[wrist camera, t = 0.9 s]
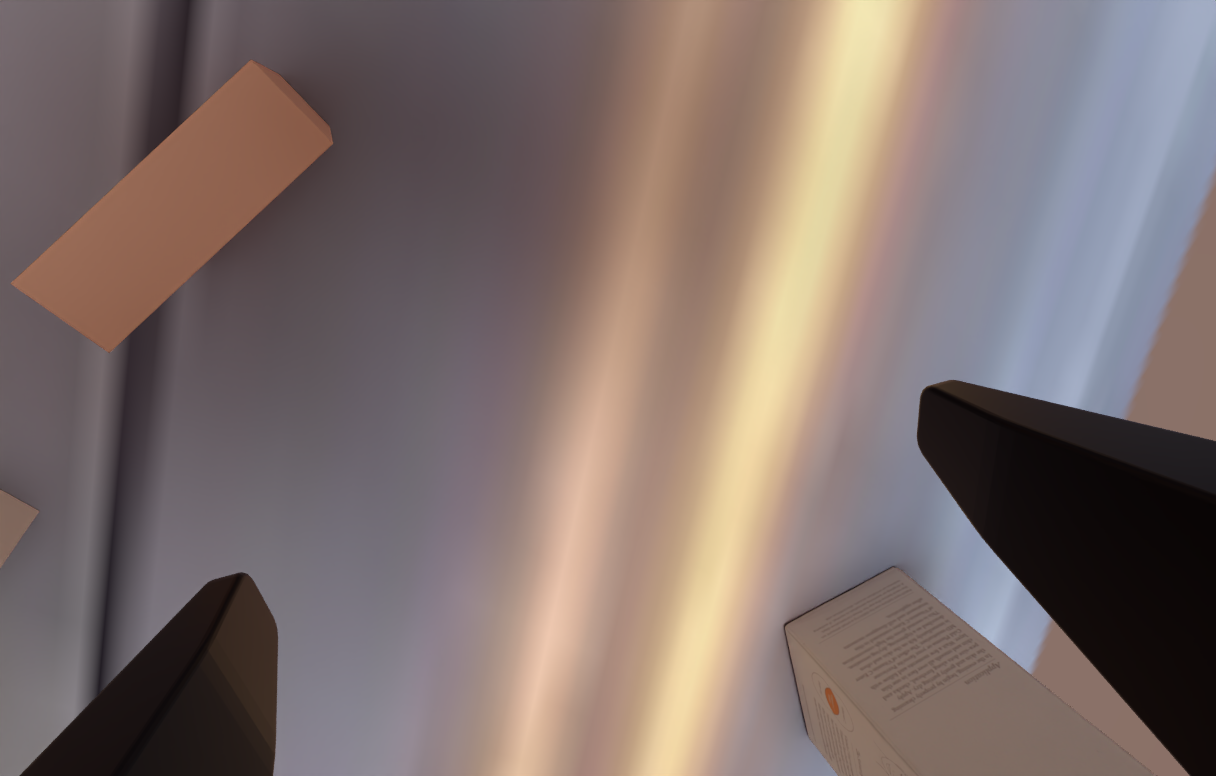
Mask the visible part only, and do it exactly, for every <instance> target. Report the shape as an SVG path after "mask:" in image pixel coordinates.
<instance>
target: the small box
mask: <svg viewBox="0 0 1216 776" xmlns="http://www.w3.org/2000/svg"><path fill="white" fill-rule="evenodd" d="M785 631H786V636H787V640H788V645H789V650H790V655H791V659H792V664H793V668H794V673H795V678H796V682H797V687H798V692H799V696H800V701H801V705H802V710H803V714H804V719H805V723H806V728H807V732H808V736H809V739H810V740H811V741H812V743H813V744H814V745H815V746H816V747H817V749H818V750H819V751H820V753H821V754H822V755H823V757H824V758H825V759H826V760H827V762H828V763H829V764H830V766H831V767H832V768H833V769H834V771H835V772H836V773H837V775H838V776H1157V775H1155V774H1154V773H1153V772H1151V771H1150V770H1149V769H1148V768H1146V767H1145V766H1144V765H1143V764H1142V763H1140V762H1139V761H1138V760H1136V759H1135V758H1134V757H1133V756H1132V755H1130V754H1129V753H1128V752H1127V751H1126V750H1124V749H1123V748H1122V747H1120V746H1119V745H1118V744H1117V743H1115V742H1114V741H1113V740H1112V739H1110V738H1109V737H1108V736H1107V735H1105V734H1104V733H1103V732H1102V731H1101V730H1099V729H1098V728H1097V727H1096V726H1094V725H1093V724H1092V723H1091V722H1089V721H1088V720H1087V719H1085V718H1084V717H1083V716H1082V715H1080V714H1079V713H1078V712H1077V711H1076V710H1074V709H1073V708H1072V707H1071V706H1069V705H1068V704H1067V703H1066V702H1064V701H1063V700H1062V699H1061V698H1059V697H1058V696H1057V695H1056V694H1054V693H1053V692H1052V691H1051V690H1050V689H1048V688H1047V687H1046V686H1044V685H1043V684H1042V683H1040V682H1039V681H1038V680H1037V679H1036V678H1034V677H1033V676H1032V675H1031V674H1029V673H1028V672H1027V671H1026V670H1025V669H1023V668H1022V667H1021V666H1020V665H1018V664H1017V663H1016V662H1015V661H1013V660H1012V659H1011V658H1010V657H1008V656H1007V655H1006V654H1005V653H1003V652H1002V651H1001V650H1000V649H998V648H997V647H996V646H995V645H993V644H992V643H991V642H990V641H989V640H987V639H986V638H985V637H983V636H982V635H981V634H980V633H978V632H977V631H976V630H975V629H973V628H972V627H971V626H970V625H969V624H967V623H966V622H965V621H964V620H962V619H961V618H960V617H958V616H957V615H956V614H955V613H954V612H952V611H951V610H950V609H949V608H947V607H946V606H945V605H944V604H942V603H941V602H940V601H939V600H937V599H936V598H935V597H934V596H933V595H931V594H930V593H929V592H928V591H926V590H925V589H924V588H922V587H921V586H920V585H919V584H917V583H916V582H915V581H914V580H913V579H911V578H910V577H909V576H908V575H906V574H905V573H904V572H903V571H901V570H900V569H898V568H894V567H892V568H890V569H888V570H887V571H885V572H883V573H881V574H879V575H878V576H876V577H874V578H872V579H870V580H868V581H866V582H865V583H863V584H861V585H859V586H857V587H855V588H854V589H852V590H850V591H848V592H846V593H844V594H842V595H840V596H838V597H837V598H835V599H833V600H831V601H829V602H827V603H825V604H823V605H821V606H819V607H818V608H816V609H814V610H812V611H810V612H808V613H806V614H805V615H803V616H801V617H799V618H797V619H796V620H794V621H792V622H790V623H789V624H787V625H786V627H785Z"/></svg>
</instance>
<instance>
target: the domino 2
mask: <svg viewBox="0 0 1216 776" xmlns="http://www.w3.org/2000/svg"><path fill="white" fill-rule="evenodd" d="M332 144H333V140H332V136H331V131H330V126H329V125H328V124H327V123H326V122H325V121H324V120H323V119H322V118H321V117H320V116H319V115H318V114H317V113H316V112H315V111H314V110H313V109H312V108H311V107H310V106H309V105H308V104H307V102H306V101H305V100H304V99H303V98H302V97H301V96H300V95H299V94H298V93H297V92H296V91H295V90H294V89H293V88H292V87H291V86H290V85H289V84H288V83H287V82H286V81H285V80H284V79H283V78H282V77H281V75H280V74H278V73H276V72H274V71H272V70H270V69H268V68H266V67H265V66H263V65H261V64H259V63H257V62H255V61H253V60H250V61H249V62H248V63H247V64H246V65H245V66H243V67H242V68H241V69H240V70H239V71H238V72H237V73H236V74H235V75H234V76H233V77H232V78H231V79H230V80H228V81H227V82H226V83H225V84H224V85H223V86H222V87H221V88H220V89H219V90H218V91H217V92H216V93H215V94H213V95H212V96H211V97H210V98H209V99H208V100H207V101H206V102H205V103H204V104H203V105H202V106H201V107H199V108H198V109H197V110H196V111H195V112H194V113H193V114H192V115H191V116H190V117H189V118H188V119H187V120H186V121H184V122H183V123H182V124H181V125H180V126H179V127H178V128H177V129H176V130H175V131H174V132H173V133H172V134H171V135H169V136H168V137H167V138H166V139H165V140H164V141H163V142H162V143H161V144H160V145H159V146H158V147H157V148H155V149H154V150H153V151H152V152H151V153H150V154H149V155H148V156H147V157H146V158H145V159H144V160H143V161H142V162H140V163H139V164H138V165H137V166H136V167H135V168H134V169H133V170H132V171H131V172H130V173H129V174H128V175H126V176H125V177H124V178H123V179H122V180H121V181H120V182H119V183H118V184H117V185H116V186H115V187H114V188H113V189H111V190H110V191H109V192H108V193H107V194H106V195H105V196H104V197H103V198H102V199H101V200H100V201H99V202H98V203H96V204H95V205H94V206H93V207H92V208H91V209H90V210H89V211H88V212H87V213H86V214H85V215H84V216H82V217H81V218H80V219H79V220H78V221H77V222H76V223H75V224H74V225H73V226H72V227H71V228H70V229H69V230H67V231H66V232H65V233H64V234H63V235H62V236H61V237H60V238H59V239H58V240H57V241H56V242H55V243H54V244H52V245H51V246H50V247H49V248H48V249H47V250H46V251H45V252H44V253H43V254H42V255H41V256H40V257H38V258H37V259H36V260H35V261H34V262H33V263H32V264H31V265H30V266H29V267H28V268H27V269H26V270H25V271H23V272H22V273H21V274H20V275H19V276H18V277H17V278H16V279H15V280H14V281H13V282H12V283H11V284H12V285H13V286H15V287H16V288H17V289H19V290H20V291H22V292H23V293H25V294H26V295H27V296H29V297H30V298H32V299H33V300H34V301H36V302H37V303H39V304H40V305H42V306H43V307H44V308H46V309H47V310H49V311H50V312H52V313H53V314H54V315H56V316H57V317H59V318H60V319H62V320H63V321H64V322H66V323H67V324H69V325H70V326H72V327H73V328H74V329H76V330H77V331H79V332H80V333H81V334H83V335H84V336H86V337H87V338H89V339H90V340H91V341H93V342H94V343H96V344H97V345H99V346H100V347H101V348H103V349H104V350H106V351H107V352H109V353H110V352H111V351H112V350H113V349H114V348H115V347H116V346H117V345H118V344H119V343H120V342H122V341H123V340H124V339H125V338H126V337H127V336H128V335H129V334H130V333H131V332H132V331H133V330H134V329H135V328H136V327H138V326H139V325H140V324H141V323H142V322H143V321H144V320H145V319H146V318H147V317H148V316H149V315H150V314H151V313H153V312H154V311H155V310H156V309H157V308H158V307H159V306H160V305H161V304H162V303H163V302H164V301H165V300H166V299H168V298H169V297H170V296H171V295H172V294H173V293H174V292H175V291H176V290H177V289H178V288H179V287H180V286H181V285H182V284H184V283H185V282H186V281H187V280H188V279H189V278H190V277H191V276H192V275H193V274H194V273H195V272H196V271H197V270H199V269H200V268H201V267H202V266H203V265H204V264H205V263H206V262H207V261H208V260H209V259H210V258H211V257H212V256H214V255H215V254H216V253H217V252H218V251H219V250H220V249H221V248H222V247H223V246H224V245H225V244H226V243H227V242H228V241H230V240H231V239H232V238H233V237H234V236H235V235H236V234H237V233H238V232H239V231H240V230H241V229H242V228H243V227H245V226H246V225H247V224H248V223H249V222H250V221H251V220H252V219H253V218H254V217H255V216H256V215H257V214H258V213H260V212H261V211H262V210H263V209H264V208H265V207H266V206H267V205H268V204H269V203H270V202H271V201H272V200H273V199H274V198H276V197H277V196H278V195H279V194H280V193H281V192H282V191H283V190H284V189H285V188H286V187H287V186H288V185H289V184H291V183H292V182H293V181H294V180H295V179H296V178H297V177H298V176H299V175H300V174H301V173H302V172H303V171H304V170H306V169H307V168H308V167H309V166H310V165H311V164H312V163H313V162H314V161H315V160H316V159H317V158H318V157H319V156H320V155H322V154H323V153H324V152H325V151H326V150H327V149H328V148H329V147H330V146H331V145H332Z"/></svg>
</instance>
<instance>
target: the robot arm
mask: <svg viewBox="0 0 1216 776" xmlns="http://www.w3.org/2000/svg"><path fill="white" fill-rule="evenodd" d="M917 441H918V445H919V448H920V450H921V452H922V454H923V456H924V457H925V459H926V460H927V461H928V463H929V464H930V466H931V467H932V468H933V470H934V471H935V473H936V474H937V476H938V477H939V478H940V480H941V481H942V483H943V484H944V485H945V487H946V488H947V490H948V491H949V493H950V494H951V495H952V497H953V498H954V500H955V501H956V502H957V504H958V505H959V507H960V508H961V509H962V511H963V512H964V514H965V515H966V517H967V518H968V519H969V521H970V522H971V524H972V525H973V526H974V528H975V529H976V530H977V532H978V533H979V534H980V536H981V537H982V538H983V539H984V541H985V542H986V543H987V544H988V545H989V547H990V548H991V549H992V550H993V551H994V553H995V554H996V555H997V556H998V557H999V558H1000V559H1001V561H1002V562H1003V563H1004V564H1005V565H1006V566H1007V567H1008V569H1009V570H1010V571H1011V572H1012V573H1013V574H1014V575H1015V577H1016V578H1017V579H1018V580H1019V581H1020V582H1021V583H1022V585H1023V586H1024V587H1025V588H1026V589H1027V590H1028V591H1029V593H1030V594H1031V595H1032V596H1033V597H1034V598H1035V599H1036V601H1037V602H1038V603H1039V604H1040V605H1041V606H1042V607H1043V609H1044V610H1045V611H1046V612H1047V613H1048V614H1049V615H1050V617H1051V618H1052V619H1053V620H1054V621H1055V622H1056V623H1057V624H1058V626H1059V627H1060V628H1061V629H1062V630H1063V631H1064V633H1065V634H1066V635H1067V636H1068V637H1069V638H1070V639H1071V641H1073V643H1074V644H1075V645H1076V646H1077V647H1078V649H1079V650H1080V651H1081V652H1082V653H1083V654H1084V655H1085V656H1086V658H1087V659H1088V660H1089V661H1090V662H1091V663H1092V664H1093V666H1094V667H1095V668H1096V669H1097V670H1098V671H1099V672H1100V674H1101V675H1102V676H1103V677H1104V678H1105V679H1106V680H1107V682H1108V683H1109V684H1110V685H1111V686H1112V687H1113V688H1114V690H1115V691H1116V692H1117V693H1118V694H1119V695H1120V696H1121V698H1122V699H1123V700H1124V701H1125V702H1126V703H1127V704H1128V706H1129V707H1130V708H1131V709H1132V710H1133V711H1134V712H1135V714H1136V715H1137V716H1138V717H1139V718H1140V719H1141V720H1142V722H1144V724H1145V725H1146V726H1147V727H1148V728H1149V729H1150V731H1151V732H1152V733H1153V734H1154V735H1155V736H1156V738H1157V739H1158V740H1159V741H1160V742H1161V743H1162V744H1163V746H1164V747H1165V748H1166V749H1167V750H1168V751H1169V752H1170V753H1171V755H1172V756H1173V757H1174V758H1175V759H1176V760H1177V761H1178V763H1179V764H1180V765H1181V766H1182V767H1183V768H1184V769H1185V771H1186V772H1187V773H1188V774H1189V775H1190V776H1216V441H1213V440H1209V439H1204V438H1200V437H1196V436H1192V435H1188V434H1183V433H1179V432H1175V431H1170V430H1166V429H1162V428H1158V427H1153V426H1149V425H1144V424H1140V423H1136V422H1132V421H1128V420H1124V419H1119V418H1115V417H1111V416H1107V415H1102V414H1098V413H1094V412H1090V411H1085V410H1081V409H1077V408H1073V407H1068V406H1064V405H1060V404H1056V403H1051V402H1047V401H1043V400H1038V399H1034V398H1030V397H1026V396H1021V395H1017V394H1013V393H1009V392H1004V391H1000V390H996V389H992V388H987V387H983V386H979V385H975V384H970V383H966V382H962V381H957V380H948V381H944V382H941V383H937V384H933V385H930V386H927V387H926V388H925V389H924V390H923V391H922V393H921V396H920V405H919V417H918V428H917ZM277 663H278V632H277V626H276V623H275V620H274V617H273V615H272V614H271V612H270V610H269V608H268V606H267V604H266V603H265V601H264V599H263V597H262V595H261V593H260V592H259V590H258V588H257V586H256V584H255V583H254V581H253V579H252V578H251V577H250V576H249V575H248V574H246V573H242V572H241V573H236V574H232V575H229V576H225V577H221V578H218V579H214V580H212V581H210V582H208V583H207V584H206V585H205V586H204V587H203V588H202V589H201V590H200V591H199V592H198V593H197V594H196V595H195V596H194V597H193V598H192V599H191V600H190V601H189V602H188V603H187V604H186V605H185V606H184V607H183V608H182V609H181V610H180V611H179V612H178V613H177V614H176V615H175V616H174V617H173V618H172V619H171V621H170V622H169V623H168V624H167V625H166V626H165V627H164V628H163V629H162V630H161V631H160V632H159V633H158V634H157V635H156V636H155V637H154V638H153V639H152V640H151V641H150V642H149V643H148V644H147V645H146V646H145V647H144V648H143V649H142V650H141V651H140V652H139V653H138V654H137V655H136V657H135V658H134V659H133V660H132V661H131V662H130V663H129V664H128V665H127V666H126V667H125V668H124V669H123V670H122V671H121V672H120V673H119V674H118V675H117V676H116V677H115V678H114V679H113V680H112V681H111V682H110V683H109V684H108V685H107V686H106V687H105V688H104V689H103V690H102V692H101V693H100V694H99V695H98V696H97V697H96V698H95V699H94V700H93V701H92V702H91V703H90V704H89V705H88V706H87V707H86V708H85V709H84V710H83V711H82V712H81V713H80V714H79V715H78V716H77V717H76V718H75V719H74V720H73V721H72V722H71V723H70V724H69V725H68V726H67V727H66V729H65V730H64V731H63V732H62V733H61V734H60V735H59V736H58V737H57V738H56V739H55V740H54V741H53V742H52V743H51V744H50V745H49V746H48V747H47V748H46V749H45V750H44V751H43V752H42V753H41V754H40V755H39V756H38V757H37V758H36V759H35V760H34V761H33V762H32V763H31V764H30V765H29V767H28V768H27V769H26V770H25V771H24V772H23V773H22V774H21V775H20V776H273V770H274V761H275V748H276V715H277Z"/></svg>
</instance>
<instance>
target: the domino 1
mask: <svg viewBox="0 0 1216 776" xmlns="http://www.w3.org/2000/svg"><path fill="white" fill-rule="evenodd" d="M38 513H39V511H38V510H36V509H35V508H33V507H31V506H29V505H27V504H26V503H24V502H22V501H20V500H19V499H17V498H15V497H13V496H11V495H10V494H8V493H6V492H4V491H2V490H1V489H0V568H1V567H2V565H3V564H4V562H5V561H6V559H7V558H8V556H9V555H10V553H11V552H12V551H13V549H14V548H15V546H16V545H17V543H18V542H19V540H20V539H21V537H22V536H23V535H24V533H25V532H26V530H27V529H28V527H29V526H30V524H31V523H32V521H33V520H34V518H35V517H36V516H37V514H38Z"/></svg>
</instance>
